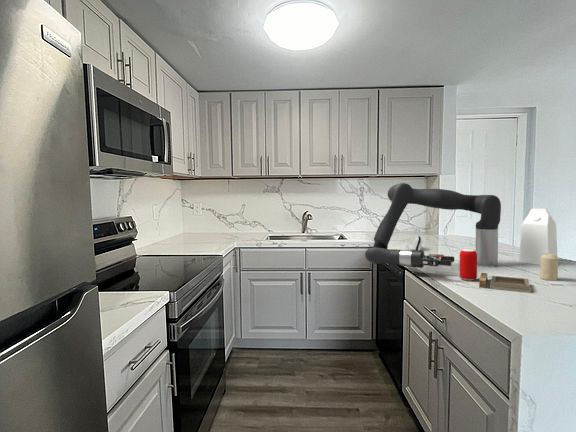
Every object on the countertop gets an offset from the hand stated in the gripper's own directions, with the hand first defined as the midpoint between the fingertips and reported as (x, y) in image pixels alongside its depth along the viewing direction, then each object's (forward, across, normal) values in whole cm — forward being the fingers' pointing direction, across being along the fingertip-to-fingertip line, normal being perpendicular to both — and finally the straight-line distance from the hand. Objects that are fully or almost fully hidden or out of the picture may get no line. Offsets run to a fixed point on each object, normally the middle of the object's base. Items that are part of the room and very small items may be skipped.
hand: (452, 261), depth 140 cm
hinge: (-30, +67, +7) cm, 74 cm away
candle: (+32, +14, +7) cm, 36 cm away
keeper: (+20, -5, +7) cm, 21 cm away
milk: (+31, +50, +7) cm, 60 cm away
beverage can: (+6, 0, +7) cm, 9 cm away
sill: (+11, -4, +7) cm, 14 cm away
